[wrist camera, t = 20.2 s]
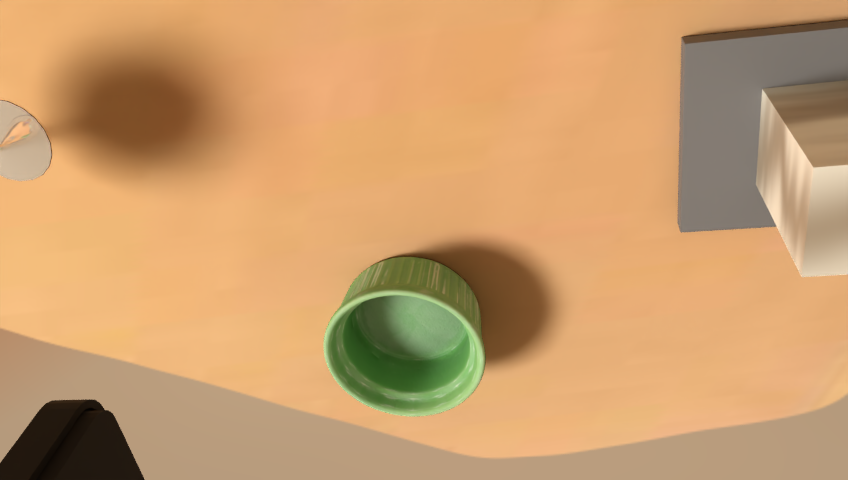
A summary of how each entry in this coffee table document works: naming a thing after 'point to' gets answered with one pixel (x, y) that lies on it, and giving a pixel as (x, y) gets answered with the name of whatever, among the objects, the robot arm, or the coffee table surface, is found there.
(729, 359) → the coffee table surface
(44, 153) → the wineglass
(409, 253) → the coffee table surface
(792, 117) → the beige block
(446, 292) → the ramekin
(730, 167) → the charcoal mat
